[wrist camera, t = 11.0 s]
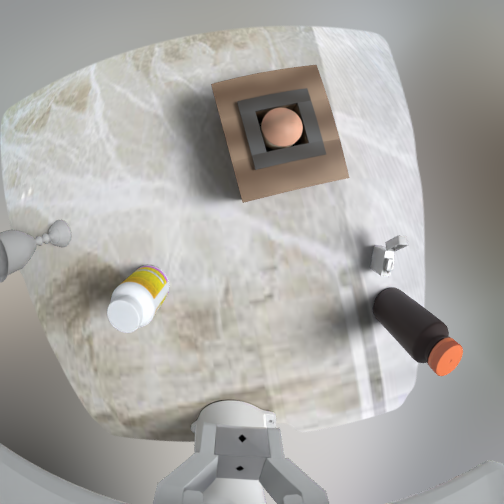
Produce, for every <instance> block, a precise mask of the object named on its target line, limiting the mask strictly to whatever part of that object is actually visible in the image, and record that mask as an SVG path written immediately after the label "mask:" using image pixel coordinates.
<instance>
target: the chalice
mask: <svg viewBox="0 0 504 504" xmlns="http://www.w3.org/2000/svg"><path fill="white" fill-rule="evenodd" d="M49 240H50V242H51V243H52V244H53V245H55V246H59V247H66V246H67V245H68V244H69V242H70V240H71V230H70V227H69V225H68V224H67V223H66V222H65V221H63V220H57V221H56V222H55V223H54V224H53V225H52V226H51V227H50V229H49V233H48V235H47V234H43V236H42V237H40V236H37V237H36V239H34V237H33V236H31V235H29V234H26V233H24V232H22V231H17V230H8V231H5V232H1V233H0V282H3V281H4V280H5V279H6V277H7V275H9V274H11V273H13V272H15V271H17V270H19V269H22V268H23V267H24V266H25V265H26V264H27V262H28V261H29V260H30V259H31V257H32V255H33V253H34V252H35V250H36V245H39V246H41V245H42V243H43V242H44V243H45V244H47V243H49Z"/></svg>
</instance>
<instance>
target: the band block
mask: <svg viewBox="0 0 504 504" xmlns="http://www.w3.org/2000/svg"><path fill="white" fill-rule="evenodd" d="M211 85H212V89H213V93H214V97H215V100H216V104H217V108H218V112H219V115H220V119H221V123H222V127H223V130H224V134H225V138H226V142H227V145H228V149H229V153H230V157H231V160H232V164H233V168H234V172H235V176H236V179H237V183H238V187H239V191H240V194H241V198H242V202H243V203H244V202H248V201H252V200H256V199H260V198H264V197H268V196H272V195H276V194H280V193H284V192H288V191H292V190H296V189H301V188H305V187H309V186H314V185H318V184H323V183H327V182H332V181H337V180H341V179H346V178H349V175H348V170H347V166H346V162H345V158H344V154H343V150H342V146H341V142H340V138H339V135H338V131H337V128H336V124H335V121H334V117H333V114H332V110H331V107H330V104H329V101H328V98H327V95H326V91H325V88H324V85H323V82H322V80H321V77H320V74H319V71H318V68H317V65H310V66H301V67H294V68H287V69H280V70H274V71H268V72H263V73H257V74H252V75H247V76H243V77H238V78H234V79H230V80H225V81H221V82H218V83H214V84H211ZM275 108H287V109H290V110H292V111H293V112H295V113H296V114H297V115H298V116H299V118H300V119H301V122H302V126H303V130H302V134H301V136H300V138H299V139H298V140H297V141H296V142H295V146H292V147H287V148H282V149H278V150H273V151H269V152H266V148H265V145H264V141H263V137H262V134H261V130H260V126H259V123H262V121H263V118H264V116H265V115H266V114H267V113H268V112H269V111H271V110H273V109H275Z"/></svg>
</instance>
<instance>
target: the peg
mask: <svg viewBox="0 0 504 504" xmlns="http://www.w3.org/2000/svg"><path fill="white" fill-rule="evenodd" d="M260 130H261V134H262V137H263V141H264V145H265V148H266V151H267V152H269V151H273V150H278V149H282V148H287V147H290V146H292V145H293V144H294V143H295V142H296V141H297V140H298V139H299V138H300V136H301V134H302V130H303V126H302V122H301V119H300V118H299V116H298V115H297V114H296V113H295V112H293V111H292V110H290V109H287V108H275V109H273V110H271V111H269V112H268V113H267V114H266V115H265V116H264V118H263V121H262V124H261V127H260Z"/></svg>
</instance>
